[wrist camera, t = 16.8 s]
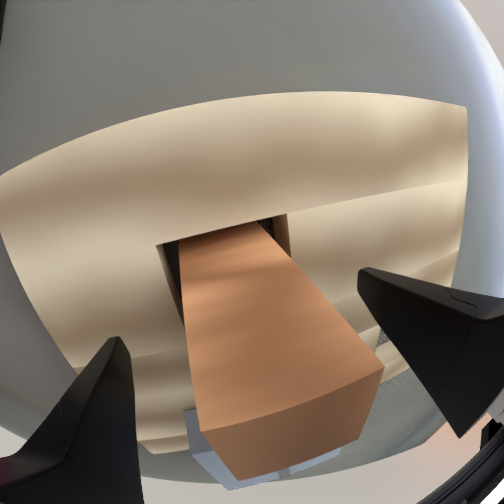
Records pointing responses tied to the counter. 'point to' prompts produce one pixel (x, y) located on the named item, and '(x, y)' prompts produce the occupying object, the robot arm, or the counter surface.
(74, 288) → the pin board
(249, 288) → the pin
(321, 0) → the counter surface
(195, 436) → the block
